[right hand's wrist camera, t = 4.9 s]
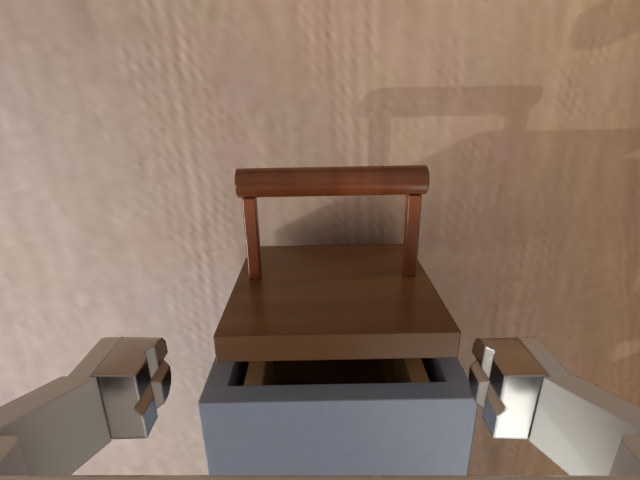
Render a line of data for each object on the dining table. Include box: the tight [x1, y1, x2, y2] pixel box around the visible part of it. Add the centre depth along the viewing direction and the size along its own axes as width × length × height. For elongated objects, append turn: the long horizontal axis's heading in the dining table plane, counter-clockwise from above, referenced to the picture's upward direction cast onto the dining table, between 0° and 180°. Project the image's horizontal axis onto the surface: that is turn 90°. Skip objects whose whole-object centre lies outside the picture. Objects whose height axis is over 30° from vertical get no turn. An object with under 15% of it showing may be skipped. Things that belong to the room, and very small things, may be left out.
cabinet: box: [198, 357, 478, 475], centre depth 24 cm, size 20×11×11 cm, turn 1°
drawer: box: [213, 165, 461, 386], centre depth 22 cm, size 24×10×10 cm, turn 1°
